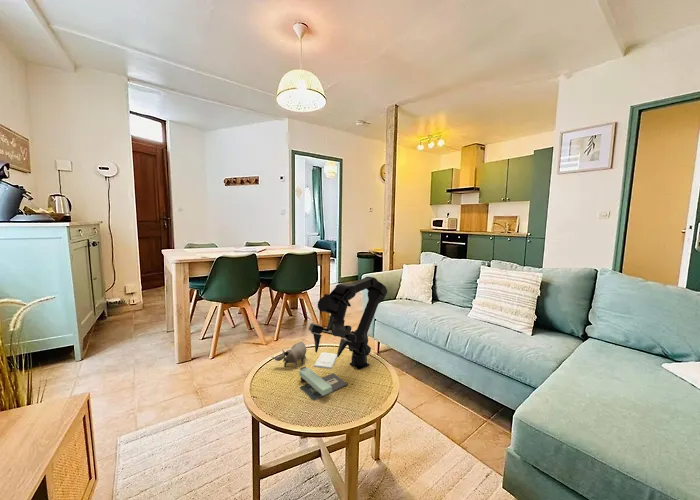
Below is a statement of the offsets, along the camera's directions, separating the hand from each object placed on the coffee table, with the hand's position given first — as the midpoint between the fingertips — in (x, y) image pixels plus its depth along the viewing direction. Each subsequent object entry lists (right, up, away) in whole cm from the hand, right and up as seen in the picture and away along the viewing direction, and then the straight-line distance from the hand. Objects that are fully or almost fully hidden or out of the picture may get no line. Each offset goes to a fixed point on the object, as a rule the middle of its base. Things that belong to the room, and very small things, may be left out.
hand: (326, 354), depth 113 cm
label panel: (-3, -13, +3) cm, 13 cm away
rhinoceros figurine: (-17, -11, +17) cm, 26 cm away
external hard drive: (-2, -11, +21) cm, 24 cm away
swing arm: (-5, -10, -1) cm, 12 cm away
